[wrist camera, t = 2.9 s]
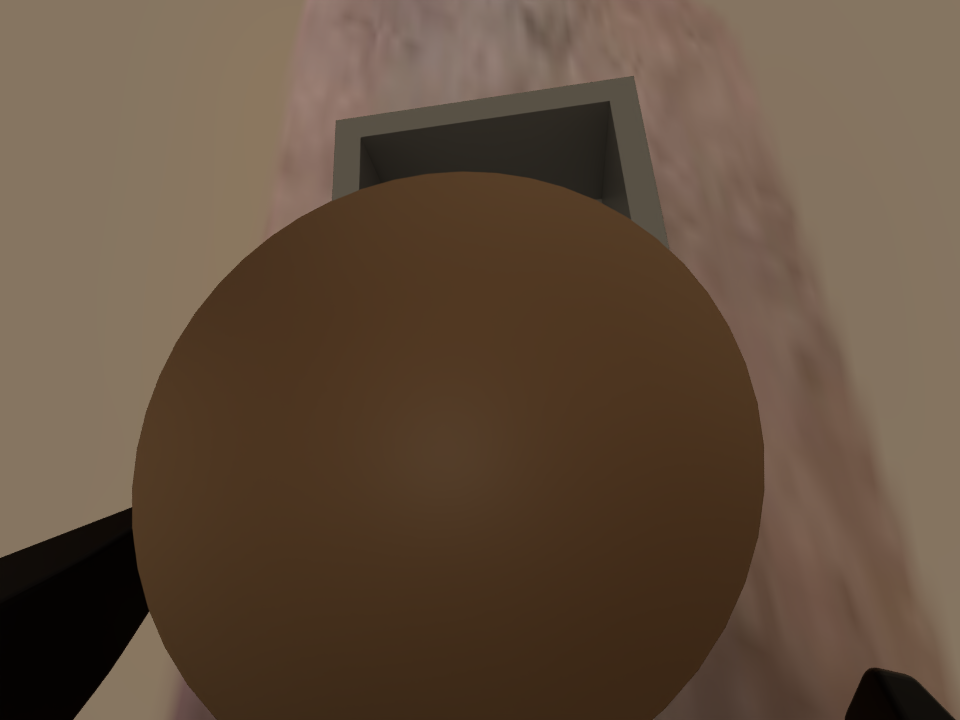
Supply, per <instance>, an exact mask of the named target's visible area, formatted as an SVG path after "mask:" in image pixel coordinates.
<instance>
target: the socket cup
mask: <svg viewBox="0 0 960 720" xmlns="http://www.w3.org/2000/svg"><path fill="white" fill-rule="evenodd" d="M462 171H463V172H487V173H500V174H507V175H513V176H520V177H527V178H532V179H535V180H539V181H543V182H547V183H550V184H554V185H558V186H561V187H564V188H567V189H569V190H572V191H574V192H577V193H579V194H582V195H584V196H587V197H589V198H592V199H594V200H597V201H598V202H600V203H602V204H604V205H606V206H608V207H609V208H611V209H613V210H615V211H617V212H619V213H620V214H622V215H624V216H626V217H628V218H629V219H630V220H632V221H633V222H634V223H636V224H637V225H639V226H640V227H641V228H643V229H644V230H646V231H647V232H648V233H650V234H651V235H653V236H654V237H655V238H657V239H658V240H659V241H660V242H661V243H662V244H663V245H664V246H665V247H666V248H667V249H669V245H668V241H667V236H666V231H665V226H664V221H663V216H662V211H661V207H660V202H659V197H658V192H657V187H656V182H655V177H654V173H653V168H652V163H651V158H650V153H649V148H648V143H647V138H646V134H645V129H644V124H643V119H642V114H641V109H640V104H639V100H638V95H637V90H636V85H635V80H634V76H630V77H624V78H617V79H610V80H604V81H597V82H590V83H584V84H577V85H570V86H563V87H557V88H550V89H543V90H537V91H530V92H523V93H517V94H510V95H503V96H497V97H490V98H483V99H477V100H470V101H463V102H457V103H450V104H443V105H437V106H430V107H423V108H417V109H410V110H403V111H397V112H390V113H383V114H376V115H370V116H363V117H356V118H350V119H343V120H336V130H335V151H334V172H333V192H332V201H333V200H336V199H338V198H341V197H343V196H346V195H348V194H351V193H353V192H356V191H358V190H361V189H363V188H367V187H371V186H374V185H378V184H381V183H385V182H388V181H392V180H395V179H401V178H407V177H412V176H418V175H424V174H432V173H447V172H462Z"/></svg>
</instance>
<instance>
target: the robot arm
mask: <svg viewBox="0 0 960 720" xmlns="http://www.w3.org/2000/svg"><path fill="white" fill-rule="evenodd" d="M148 612H149V609H148V605H147V602H146V598H145V594H144V590H143V587H142V583H141V579H140V576H139V572H138V568H137V560H136V553H135V545H134V537H133V529H132V507H131V508H129V509H126V510H124V511H121V512H118V513H116V514H113V515H111V516H108V517H106V518H103V519H100V520H98V521H95V522H92V523H90V524H88V525H85V526H82V527H80V528H77V529H74V530H72V531H69V532H67V533H64V534H61V535H59V536H56V537H54V538H51V539H48V540H46V541H43V542H40V543H38V544H35V545H33V546H30V547H28V548H25V549H22V550H20V551H17V552H15V553H12V554H10V555H7V556H4V557H2V558H0V720H73V719H74V718H75V717H76V715H77V714H78V713H79V712H80V710H81V709H82V708H83V706H84V705H85V704H86V702H87V701H88V700H89V698H90V697H91V696H92V695H93V693H94V692H95V691H96V689H97V688H98V687H99V685H100V684H101V683H102V681H103V680H104V679H105V677H106V676H107V675H108V673H109V672H110V671H111V669H112V668H113V666H114V665H115V663H116V661H117V660H118V659H119V657H120V656H121V654H122V653H123V651H124V650H125V648H126V646H127V645H128V643H129V642H130V640H131V639H132V637H133V636H134V634H135V633H136V631H137V630H138V628H139V626H140V625H141V623H142V622H143V620H144V619H145V617H146V616H147V614H148ZM845 720H955V719H954V718H953V717H952V716H951V715H950V714H949V713H948V711H947V710H946V709H945V708H944V707H943V706H942V705H941V704H940V703H939V702H938V701H937V700H936V699H935V698H934V697H933V696H932V695H931V694H930V693H929V692H928V691H927V690H926V689H925V688H924V687H923V686H922V685H921V684H920V683H919V682H918V681H917V680H915V679H914V678H912V677H911V676H909V675H906V674H902V673H898V672H893V671H889V670H884V669H880V668H870V669H868V670H867V671H866V672H865V673H864V675H863V677H862V679H861V681H860V683H859V686H858V688H857V690H856V692H855V694H854V697H853V699H852V701H851V703H850V706H849V708H848V710H847V713H846V716H845Z"/></svg>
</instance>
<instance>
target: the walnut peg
mask: <svg viewBox="0 0 960 720" xmlns="http://www.w3.org/2000/svg"><path fill="white" fill-rule="evenodd" d="M763 497H764V443H763V437H762V430H761V424H760V417H759V410H758V404H757V400H756V397H755V393H754V390H753V387H752V383H751V380H750V377H749V373H748V370H747V366H746V363H745V361H744V359H743V356H742V354H741V352H740V350H739V348H738V345H737V343H736V341H735V339H734V337H733V334H732V332H731V330H730V328H729V326H728V324H727V322H726V321H725V319H724V318H723V316H722V315H721V313H720V311H719V310H718V308H717V307H716V305H715V303H714V302H713V300H712V299H711V297H710V295H709V294H708V292H707V291H706V290H705V289H704V288H703V286H702V285H701V284H700V283H699V282H698V280H697V279H696V278H695V277H694V275H693V274H692V273H691V272H690V271H689V269H688V268H687V267H686V266H685V265H684V263H682V262H681V261H680V260H679V259H678V258H677V257H676V256H675V255H674V254H673V253H672V252H671V251H670V250H669V249H667V248H666V247H665V246H664V245H663V244H662V243H661V242H660V241H659V240H658V239H657V238H655V237H654V236H653V235H651V234H650V233H648V232H647V231H646V230H644V229H643V228H641V227H640V226H639V225H637V224H636V223H634V222H633V221H632V220H630V219H629V218H628V217H626V216H624V215H622V214H620V213H619V212H617V211H615V210H613V209H611V208H609V207H608V206H606V205H604V204H602V203H600V202H598V201H597V200H594V199H592V198H589V197H587V196H584V195H582V194H579V193H577V192H574V191H572V190H569V189H567V188H564V187H561V186H558V185H554V184H550V183H547V182H543V181H539V180H535V179H532V178H527V177H520V176H513V175H507V174H500V173H487V172H463V171H462V172H447V173H432V174H424V175H418V176H412V177H407V178H401V179H395V180H392V181H388V182H385V183H381V184H378V185H374V186H371V187H367V188H363V189H361V190H358V191H356V192H353V193H351V194H348V195H346V196H343V197H341V198H338V199H336V200H333V201H331V202H329V203H327V204H325V205H323V206H321V207H319V208H317V209H315V210H313V211H311V212H309V213H308V214H306V215H304V216H302V217H300V218H298V219H297V220H295V221H294V222H292V223H291V224H289V225H288V226H286V227H285V228H283V229H282V230H280V231H279V232H277V233H276V234H274V235H273V236H271V237H270V238H269V239H267V240H266V241H265V242H264V243H263V244H261V245H260V246H259V247H258V248H256V249H255V250H254V251H253V252H252V253H250V254H249V255H248V256H247V257H245V258H244V259H243V260H242V261H241V262H240V263H239V264H238V265H237V266H236V267H235V268H234V269H233V270H232V271H231V272H230V273H229V274H228V275H227V276H226V277H225V278H224V279H223V280H222V281H221V282H220V283H219V284H218V286H217V287H216V288H215V289H214V290H213V292H212V293H211V294H210V296H209V297H208V298H207V299H206V300H205V302H204V303H203V304H202V305H201V307H200V308H199V309H198V310H197V312H196V313H195V314H194V316H193V318H192V319H191V321H190V322H189V324H188V325H187V327H186V328H185V330H184V331H183V333H182V335H181V336H180V338H179V339H178V341H177V342H176V344H175V346H174V348H173V351H172V352H171V354H170V356H169V358H168V360H167V362H166V364H165V366H164V368H163V370H162V372H161V374H160V376H159V379H158V381H157V384H156V387H155V389H154V392H153V395H152V398H151V400H150V403H149V406H148V408H147V411H146V415H145V419H144V423H143V427H142V431H141V435H140V439H139V443H138V447H137V454H136V462H135V471H134V478H133V487H132V529H133V537H134V545H135V553H136V560H137V568H138V572H139V576H140V579H141V583H142V587H143V590H144V594H145V598H146V602H147V605H148V609H149V611H150V614H151V616H152V618H153V621H154V623H155V625H156V627H157V630H158V632H159V635H160V637H161V639H162V642H163V644H164V646H165V648H166V650H167V652H168V653H169V655H170V657H171V658H172V660H173V662H174V663H175V665H176V666H177V668H178V670H179V671H180V673H181V675H182V676H183V678H184V680H185V681H186V683H187V685H188V686H189V687H190V688H191V689H192V691H193V692H194V693H195V694H196V695H197V697H198V698H199V699H200V700H201V701H202V702H203V704H204V705H205V706H206V707H207V708H208V710H209V711H210V712H211V713H212V714H213V716H214V717H215V718H216V719H217V720H652V719H653V718H655V717H656V716H657V715H658V714H659V713H660V712H662V711H663V710H664V709H665V708H666V707H667V706H668V704H669V703H670V702H671V701H672V700H673V699H674V697H675V696H676V695H677V694H678V693H679V692H680V691H681V689H682V688H683V687H684V686H685V685H686V684H687V682H688V681H689V680H690V679H691V678H692V677H693V676H694V674H695V673H696V672H697V671H698V670H699V668H700V666H701V665H702V663H703V662H704V660H705V659H706V657H707V655H708V654H709V652H710V651H711V649H712V648H713V646H714V644H715V643H716V641H717V640H718V638H719V637H720V635H721V633H722V632H723V630H724V629H725V627H726V625H727V622H728V620H729V618H730V616H731V613H732V611H733V609H734V607H735V604H736V602H737V600H738V598H739V595H740V593H741V591H742V589H743V586H744V584H745V582H746V578H747V574H748V571H749V567H750V564H751V560H752V557H753V553H754V550H755V546H756V543H757V539H758V534H759V527H760V519H761V512H762V504H763Z"/></svg>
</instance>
